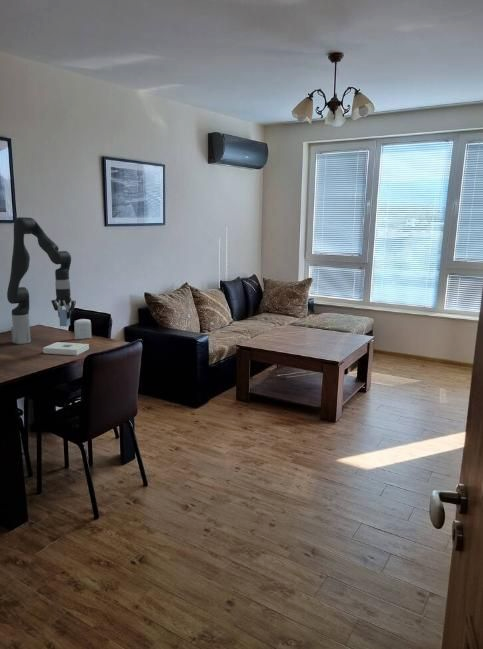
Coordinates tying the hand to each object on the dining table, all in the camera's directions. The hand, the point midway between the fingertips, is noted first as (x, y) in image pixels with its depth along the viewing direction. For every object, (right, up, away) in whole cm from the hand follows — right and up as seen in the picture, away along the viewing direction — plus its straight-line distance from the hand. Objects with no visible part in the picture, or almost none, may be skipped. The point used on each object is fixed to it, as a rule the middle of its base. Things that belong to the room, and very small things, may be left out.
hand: (64, 318), depth 266 cm
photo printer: (-1, -13, +35) cm, 37 cm away
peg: (0, -4, +1) cm, 4 cm away
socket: (0, -19, +4) cm, 19 cm away
